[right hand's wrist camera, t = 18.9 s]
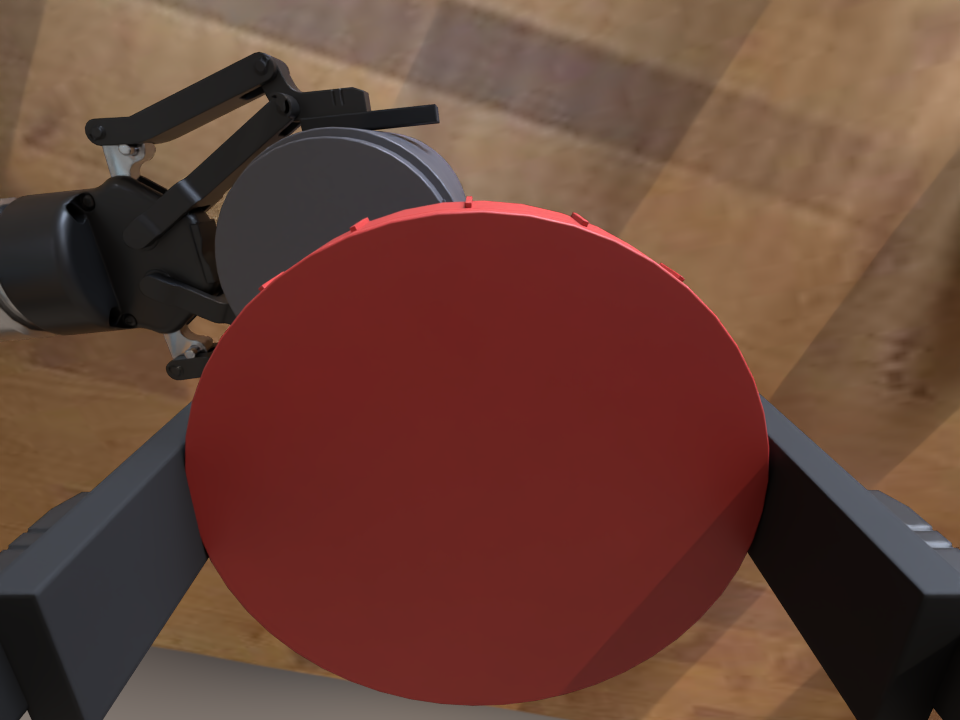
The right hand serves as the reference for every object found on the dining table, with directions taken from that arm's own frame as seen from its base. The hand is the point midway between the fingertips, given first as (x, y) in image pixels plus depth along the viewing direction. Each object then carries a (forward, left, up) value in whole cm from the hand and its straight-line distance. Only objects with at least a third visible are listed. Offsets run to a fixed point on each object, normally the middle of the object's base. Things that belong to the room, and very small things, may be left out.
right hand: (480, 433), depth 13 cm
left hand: (-1, -2, -18) cm, 18 cm away
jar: (+1, -6, -24) cm, 25 cm away
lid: (0, 0, +3) cm, 3 cm away
